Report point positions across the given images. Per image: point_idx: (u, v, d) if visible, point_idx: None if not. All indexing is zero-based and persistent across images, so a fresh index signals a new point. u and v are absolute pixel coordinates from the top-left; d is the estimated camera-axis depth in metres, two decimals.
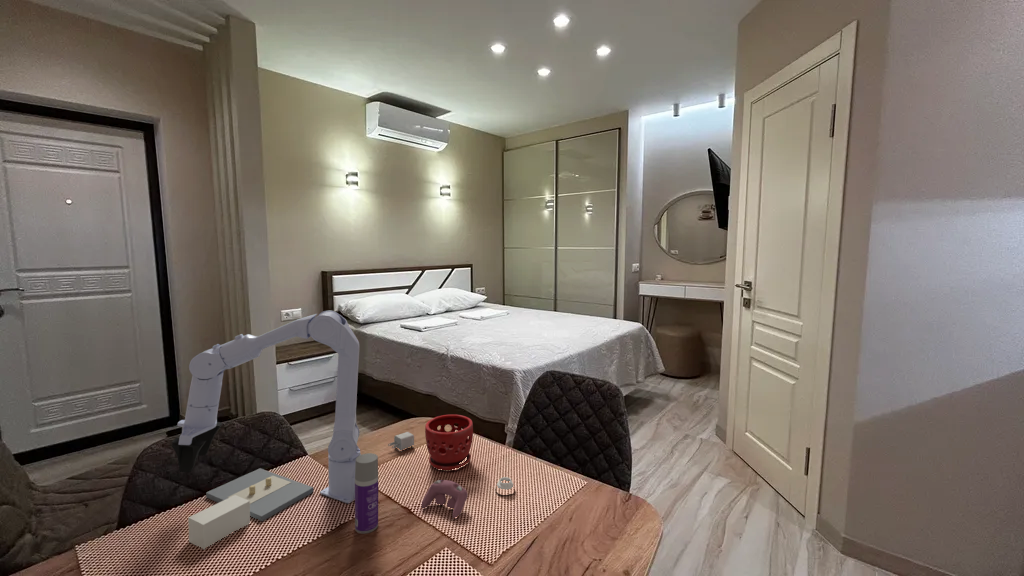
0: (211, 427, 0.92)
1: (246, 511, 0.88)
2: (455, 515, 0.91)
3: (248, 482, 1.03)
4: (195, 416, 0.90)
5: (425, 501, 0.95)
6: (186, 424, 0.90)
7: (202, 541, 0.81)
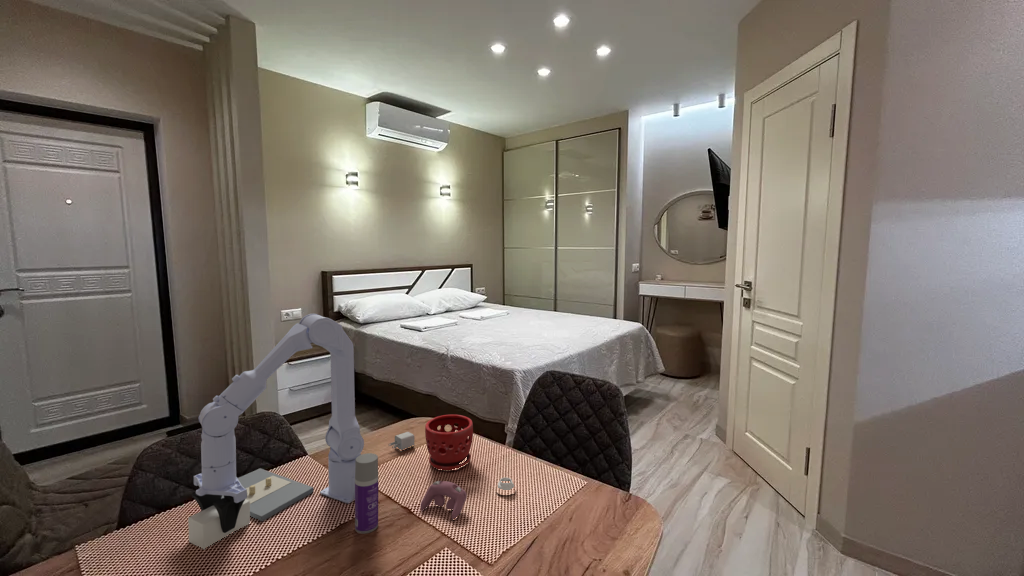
0: None
1: (246, 511, 0.88)
2: (454, 516, 0.91)
3: (248, 482, 1.03)
4: (226, 474, 0.83)
5: (424, 502, 0.95)
6: (216, 487, 0.82)
7: (202, 541, 0.81)
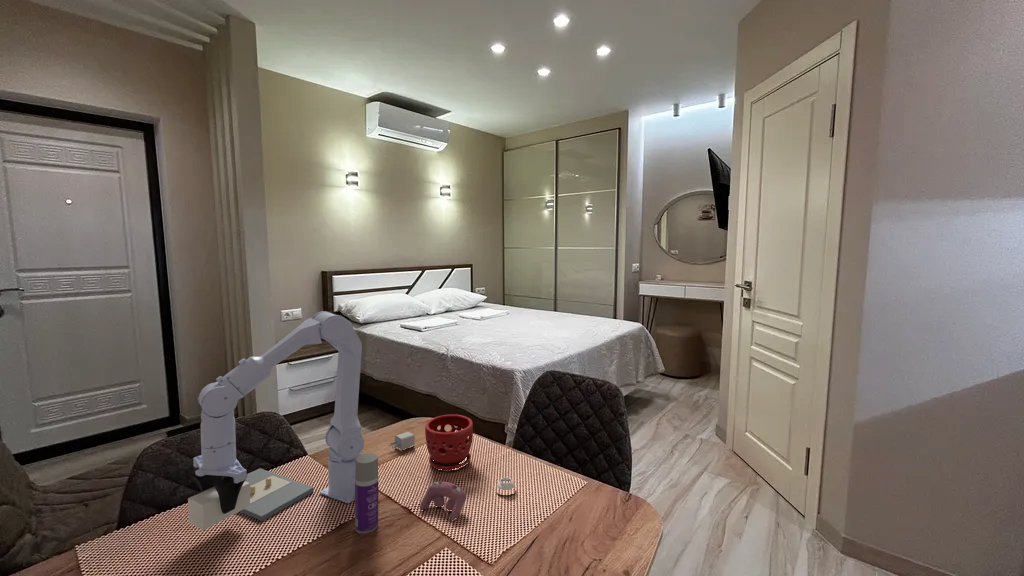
0: None
1: (246, 493, 0.88)
2: (454, 517, 0.91)
3: (248, 482, 1.03)
4: (226, 455, 0.83)
5: (423, 503, 0.94)
6: (216, 468, 0.82)
7: (202, 522, 0.80)
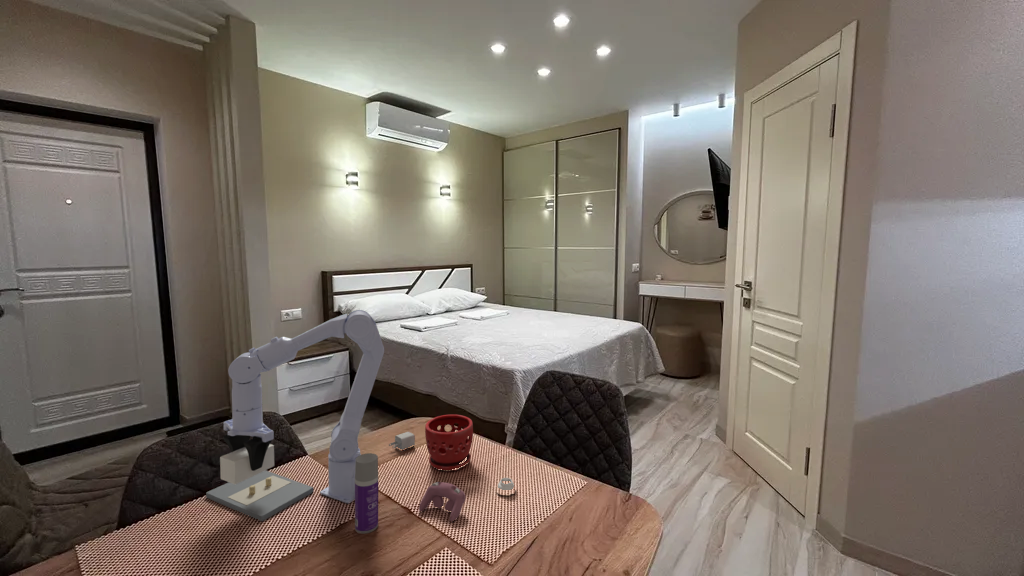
0: None
1: (271, 454, 0.97)
2: (453, 518, 0.90)
3: (248, 482, 1.03)
4: (254, 418, 0.92)
5: (422, 504, 0.94)
6: (246, 429, 0.91)
7: (233, 477, 0.89)
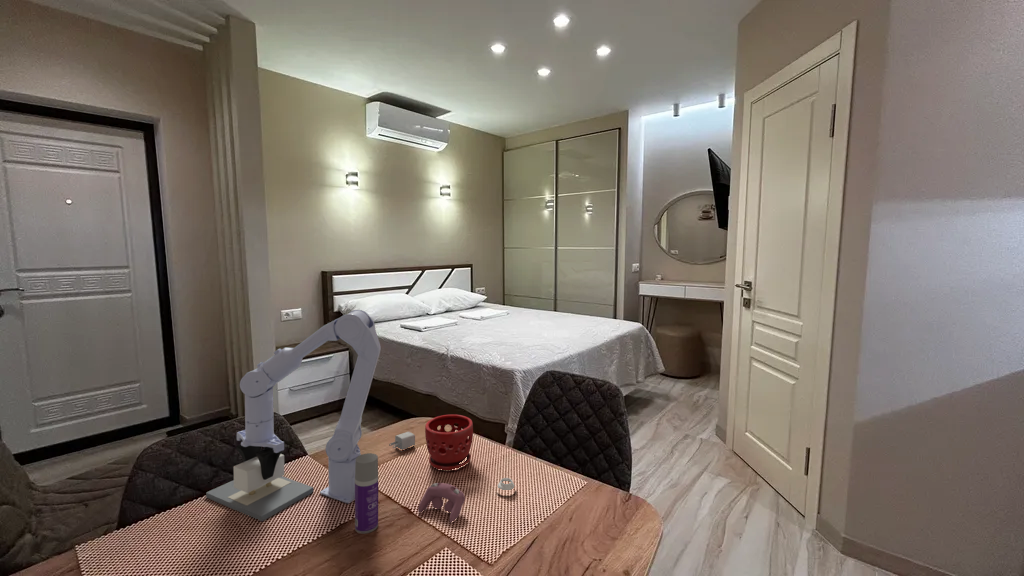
0: None
1: (281, 463, 1.01)
2: (452, 519, 0.90)
3: None
4: (266, 429, 0.97)
5: (422, 505, 0.94)
6: (258, 440, 0.96)
7: (246, 486, 0.94)
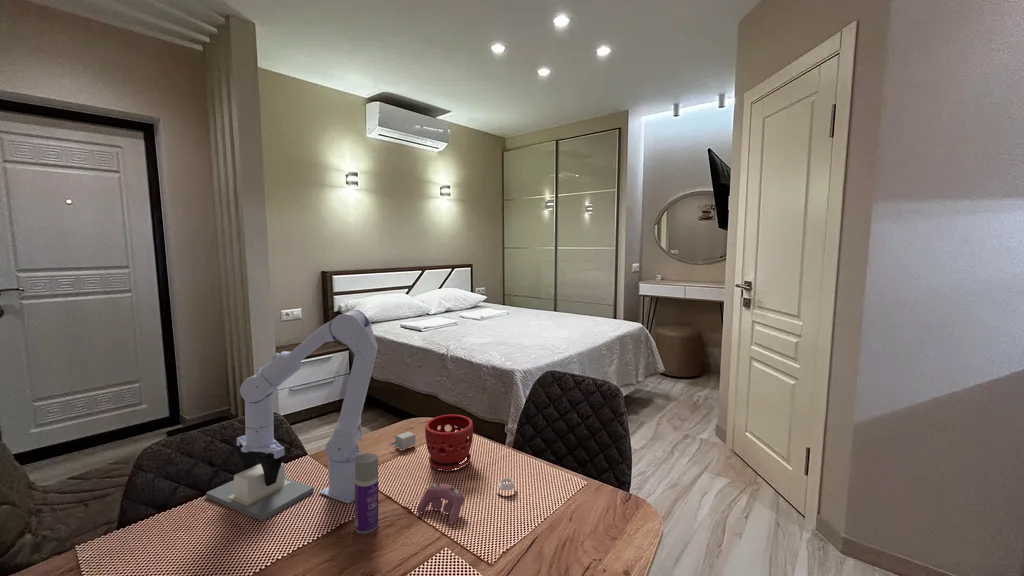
0: None
1: (281, 472, 1.01)
2: (452, 520, 0.90)
3: None
4: (266, 435, 0.97)
5: (421, 506, 0.93)
6: (258, 446, 0.96)
7: (246, 495, 0.94)
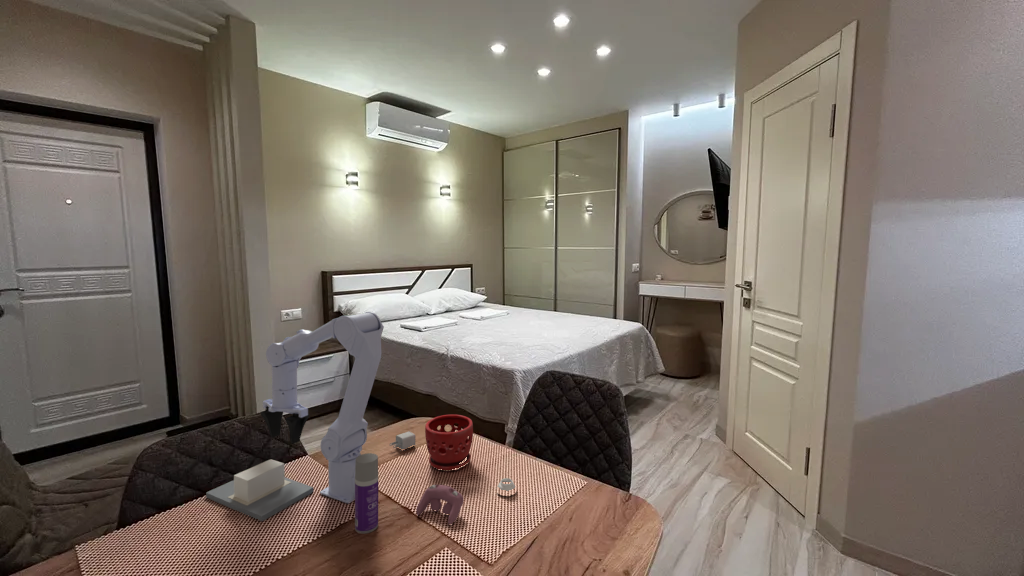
0: None
1: (281, 472, 1.01)
2: (451, 521, 0.89)
3: None
4: (291, 397, 1.06)
5: (420, 507, 0.93)
6: (284, 406, 1.05)
7: (246, 495, 0.94)
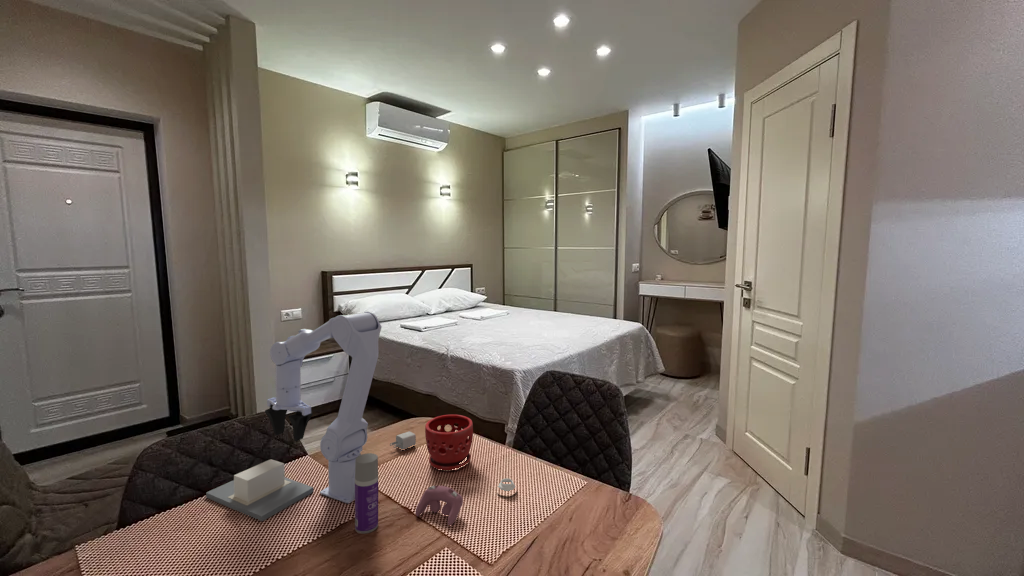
0: None
1: (281, 472, 1.01)
2: (450, 522, 0.89)
3: None
4: (295, 395, 1.08)
5: (419, 508, 0.92)
6: (287, 404, 1.07)
7: (246, 495, 0.94)
